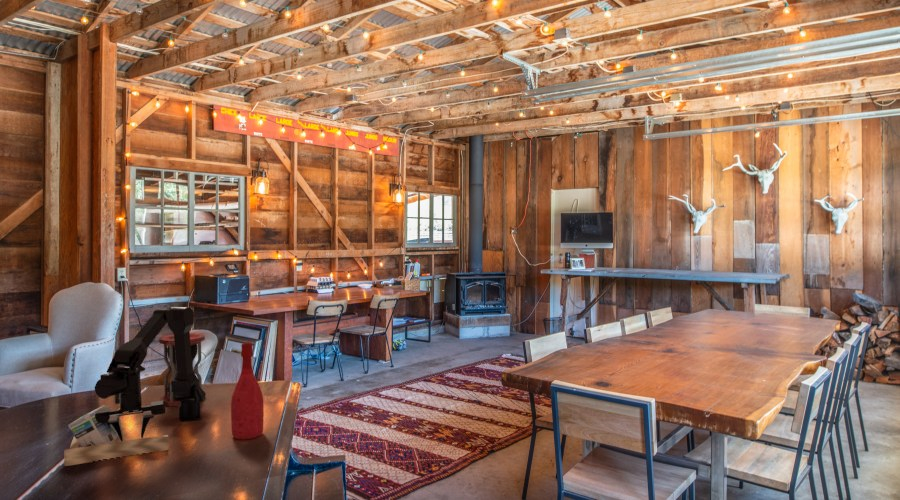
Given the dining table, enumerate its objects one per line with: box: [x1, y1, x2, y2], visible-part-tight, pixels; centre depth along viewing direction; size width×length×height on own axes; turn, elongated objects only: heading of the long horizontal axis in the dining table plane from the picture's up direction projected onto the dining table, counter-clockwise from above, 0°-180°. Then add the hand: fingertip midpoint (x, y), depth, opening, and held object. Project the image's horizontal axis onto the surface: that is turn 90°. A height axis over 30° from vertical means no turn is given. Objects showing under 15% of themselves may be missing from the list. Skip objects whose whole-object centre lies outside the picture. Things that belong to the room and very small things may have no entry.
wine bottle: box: [230, 341, 265, 440], centre depth 185 cm, size 10×10×30 cm
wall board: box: [63, 434, 169, 467], centre depth 175 cm, size 26×17×4 cm, turn 118°
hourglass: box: [158, 332, 206, 407], centre depth 225 cm, size 16×16×25 cm
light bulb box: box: [67, 404, 119, 447], centre depth 173 cm, size 11×7×11 cm, turn 7°
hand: (131, 439), depth 177 cm, fingers open, 5 cm apart
